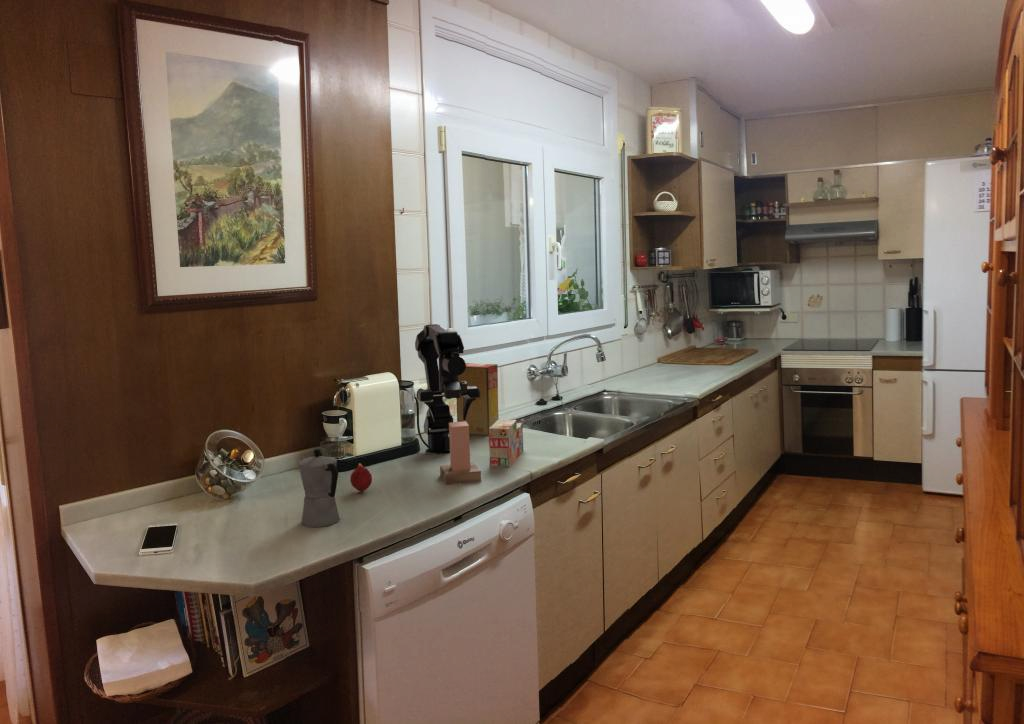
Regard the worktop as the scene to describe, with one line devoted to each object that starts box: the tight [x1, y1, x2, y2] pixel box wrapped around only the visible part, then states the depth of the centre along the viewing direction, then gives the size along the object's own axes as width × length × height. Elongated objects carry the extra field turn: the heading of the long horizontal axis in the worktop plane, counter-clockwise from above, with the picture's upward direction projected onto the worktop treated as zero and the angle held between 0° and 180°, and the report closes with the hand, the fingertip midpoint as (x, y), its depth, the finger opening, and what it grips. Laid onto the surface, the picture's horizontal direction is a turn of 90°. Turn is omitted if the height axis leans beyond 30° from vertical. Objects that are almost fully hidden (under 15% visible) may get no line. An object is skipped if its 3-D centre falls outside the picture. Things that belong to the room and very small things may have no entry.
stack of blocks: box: [488, 419, 524, 467], centre depth 239 cm, size 21×6×12 cm, turn 167°
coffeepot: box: [297, 448, 341, 528], centre depth 182 cm, size 15×9×18 cm, turn 43°
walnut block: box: [439, 461, 482, 486], centre depth 218 cm, size 10×10×4 cm
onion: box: [349, 463, 373, 493], centre depth 206 cm, size 6×6×8 cm
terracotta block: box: [448, 421, 471, 471], centre depth 216 cm, size 5×5×13 cm
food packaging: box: [456, 362, 500, 437], centre depth 276 cm, size 13×9×25 cm
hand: (449, 421), depth 235 cm, fingers open, 9 cm apart
